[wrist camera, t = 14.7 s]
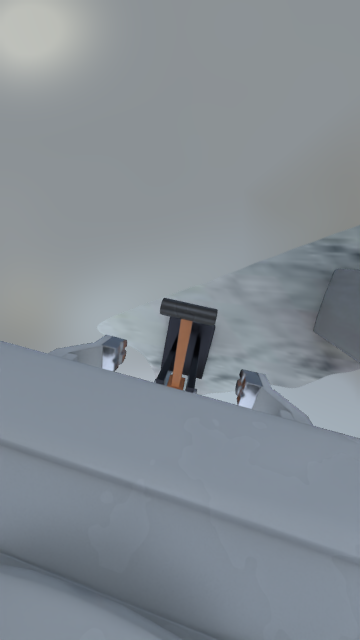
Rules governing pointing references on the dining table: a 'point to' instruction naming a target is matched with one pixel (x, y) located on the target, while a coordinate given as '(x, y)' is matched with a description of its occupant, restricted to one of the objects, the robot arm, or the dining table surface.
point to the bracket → (194, 356)
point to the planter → (341, 312)
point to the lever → (185, 331)
